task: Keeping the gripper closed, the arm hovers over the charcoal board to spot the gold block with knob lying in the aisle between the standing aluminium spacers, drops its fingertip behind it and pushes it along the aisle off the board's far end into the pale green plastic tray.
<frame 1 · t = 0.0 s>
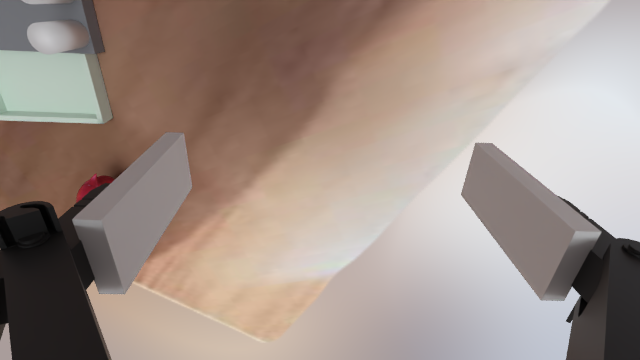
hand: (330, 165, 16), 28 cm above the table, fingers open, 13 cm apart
tray: (49, 84, 41), on the table
decorative bird figurine: (116, 197, 49), on the table
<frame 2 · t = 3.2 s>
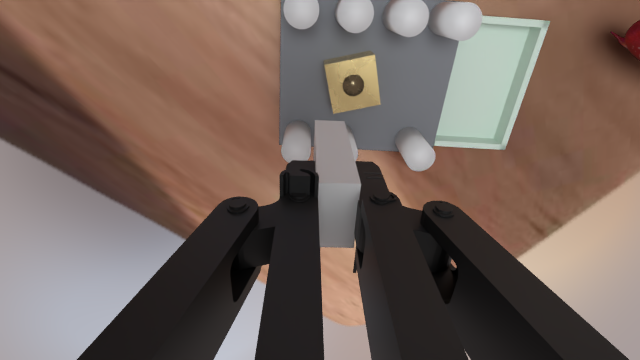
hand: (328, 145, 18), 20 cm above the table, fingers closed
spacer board: (362, 76, 36), on the table
tray: (478, 83, 36), on the table
decorative bird figurine: (637, 54, 35), on the table
gold block with knob: (350, 79, 34), point 2 cm above the table, touching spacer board
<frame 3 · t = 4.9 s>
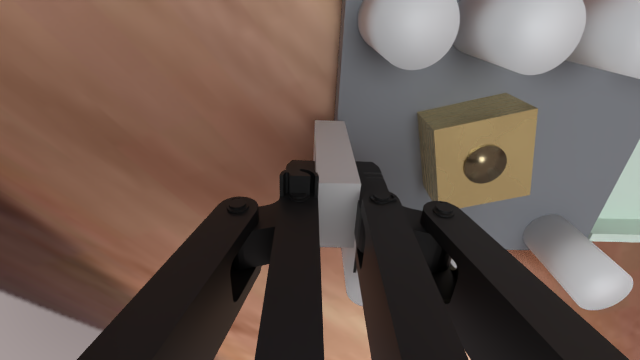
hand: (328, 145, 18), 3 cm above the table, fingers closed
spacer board: (473, 130, 21), on the table
gold block with knob: (461, 142, 19), point 2 cm above the table, touching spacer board
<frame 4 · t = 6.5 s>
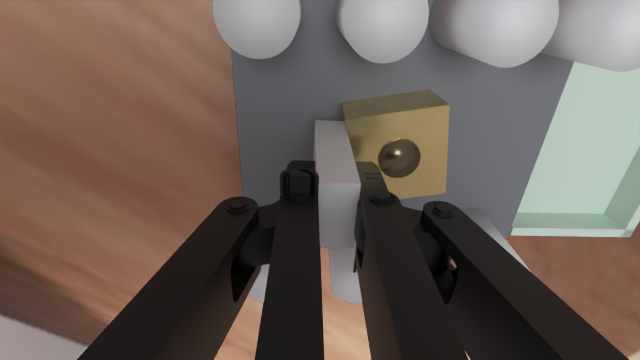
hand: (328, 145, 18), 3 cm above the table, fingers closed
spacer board: (386, 124, 20), on the table
tray: (587, 129, 21), on the table
gold block with knob: (387, 137, 19), point 2 cm above the table, touching gripper, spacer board
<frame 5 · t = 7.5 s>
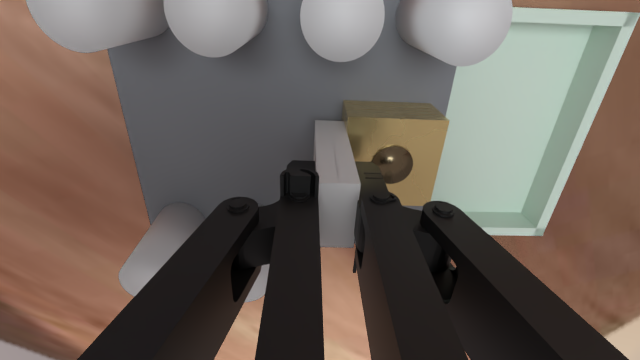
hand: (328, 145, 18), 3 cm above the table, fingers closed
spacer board: (288, 121, 20), on the table
tray: (494, 127, 21), on the table
gold block with knob: (381, 142, 19), point 2 cm above the table, touching gripper
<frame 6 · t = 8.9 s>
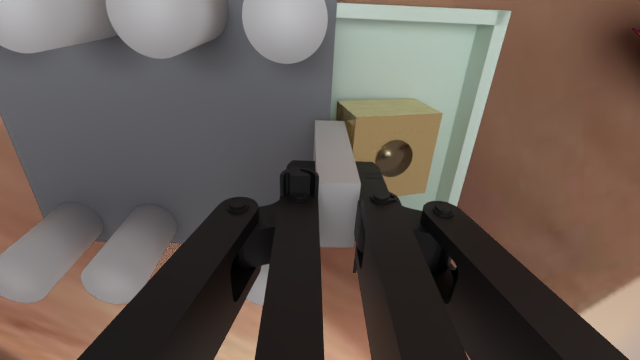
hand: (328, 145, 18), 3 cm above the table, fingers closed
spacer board: (182, 120, 20), on the table
tray: (393, 127, 20), on the table
gold block with knob: (371, 138, 20), point 1 cm above the table, tilted 15°, touching gripper, tray
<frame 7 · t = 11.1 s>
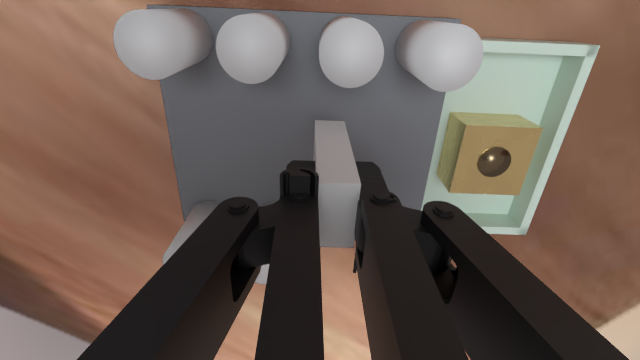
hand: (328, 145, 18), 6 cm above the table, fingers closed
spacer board: (304, 131, 23), on the table
tray: (482, 138, 24), on the table
gold block with knob: (475, 145, 23), resting on tray
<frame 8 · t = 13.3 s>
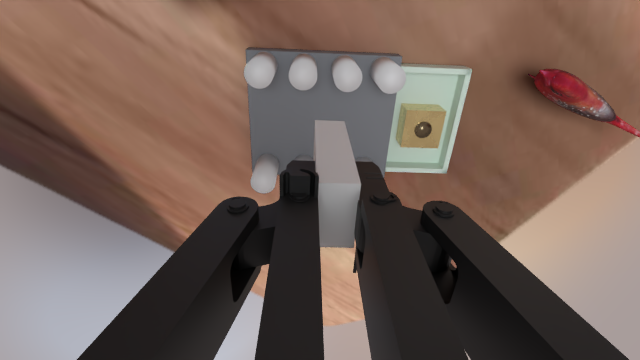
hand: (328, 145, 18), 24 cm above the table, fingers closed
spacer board: (321, 114, 42), on the table
tray: (420, 118, 42), on the table
decorative bird figurine: (555, 91, 41), on the table
gold block with knob: (416, 122, 42), resting on tray
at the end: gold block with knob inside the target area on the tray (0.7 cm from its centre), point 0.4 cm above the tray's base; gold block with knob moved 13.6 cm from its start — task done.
